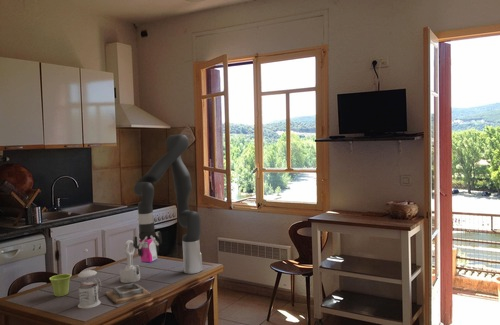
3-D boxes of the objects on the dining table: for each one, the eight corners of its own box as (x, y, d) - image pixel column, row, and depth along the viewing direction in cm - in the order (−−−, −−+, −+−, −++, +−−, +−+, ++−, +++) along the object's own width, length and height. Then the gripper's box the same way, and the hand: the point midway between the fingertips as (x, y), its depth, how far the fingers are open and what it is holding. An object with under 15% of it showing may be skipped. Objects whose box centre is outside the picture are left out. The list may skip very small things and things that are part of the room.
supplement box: (148, 259, 216) (146, 236, 215) (157, 259, 213) (156, 237, 213) (140, 262, 211) (138, 239, 210) (150, 263, 208) (148, 240, 207)
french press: (88, 299, 197) (85, 245, 196) (108, 301, 193) (105, 247, 192) (72, 306, 188) (68, 251, 187) (93, 309, 184) (89, 252, 182)
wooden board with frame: (138, 286, 211) (138, 280, 211) (150, 295, 198) (150, 288, 198) (106, 294, 202) (105, 287, 202) (116, 304, 189) (116, 296, 189)
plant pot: (51, 293, 207) (49, 275, 207) (71, 289, 211) (70, 272, 211) (50, 299, 199) (49, 281, 198) (72, 295, 203) (71, 277, 202)
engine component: (116, 282, 220) (134, 282, 218) (114, 243, 219) (132, 243, 217) (127, 275, 230) (144, 276, 228) (124, 238, 229) (142, 238, 227)
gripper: (157, 218, 218) (159, 250, 219) (129, 223, 210) (132, 255, 211) (162, 220, 212) (165, 253, 213) (134, 225, 204) (137, 259, 205)
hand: (148, 254), depth 212 cm, fingers closed on supplement box, 7 cm apart
